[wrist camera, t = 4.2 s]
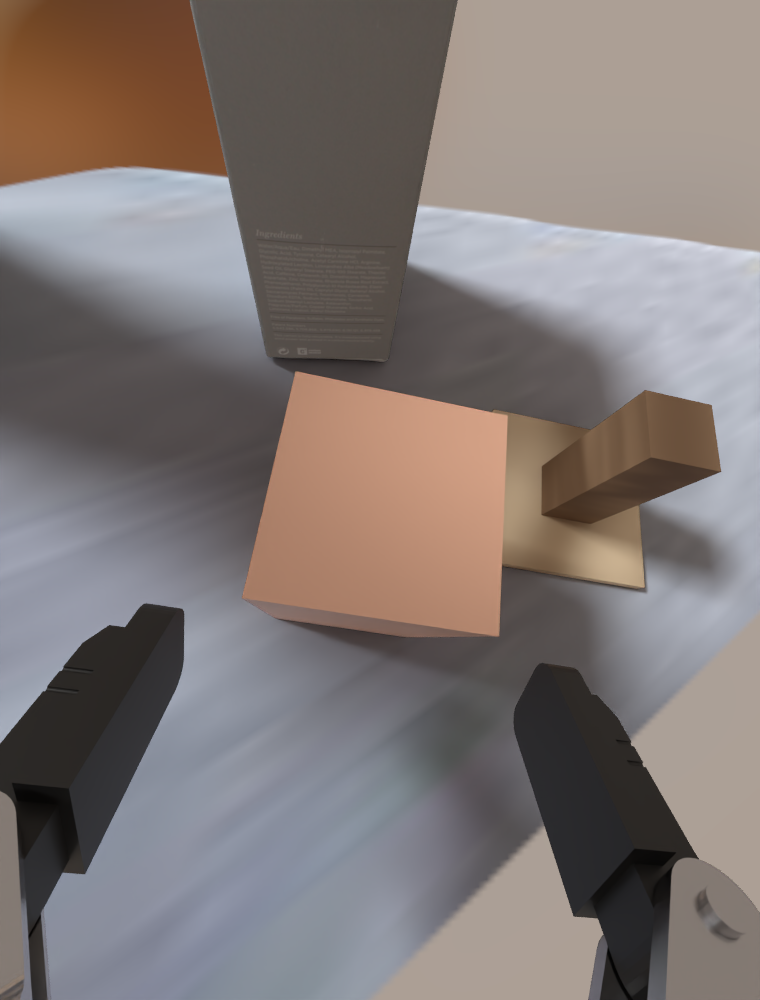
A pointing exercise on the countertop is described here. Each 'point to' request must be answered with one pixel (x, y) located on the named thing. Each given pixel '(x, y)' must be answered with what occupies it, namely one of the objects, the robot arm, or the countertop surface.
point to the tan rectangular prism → (383, 514)
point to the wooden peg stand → (599, 485)
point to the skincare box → (325, 156)
